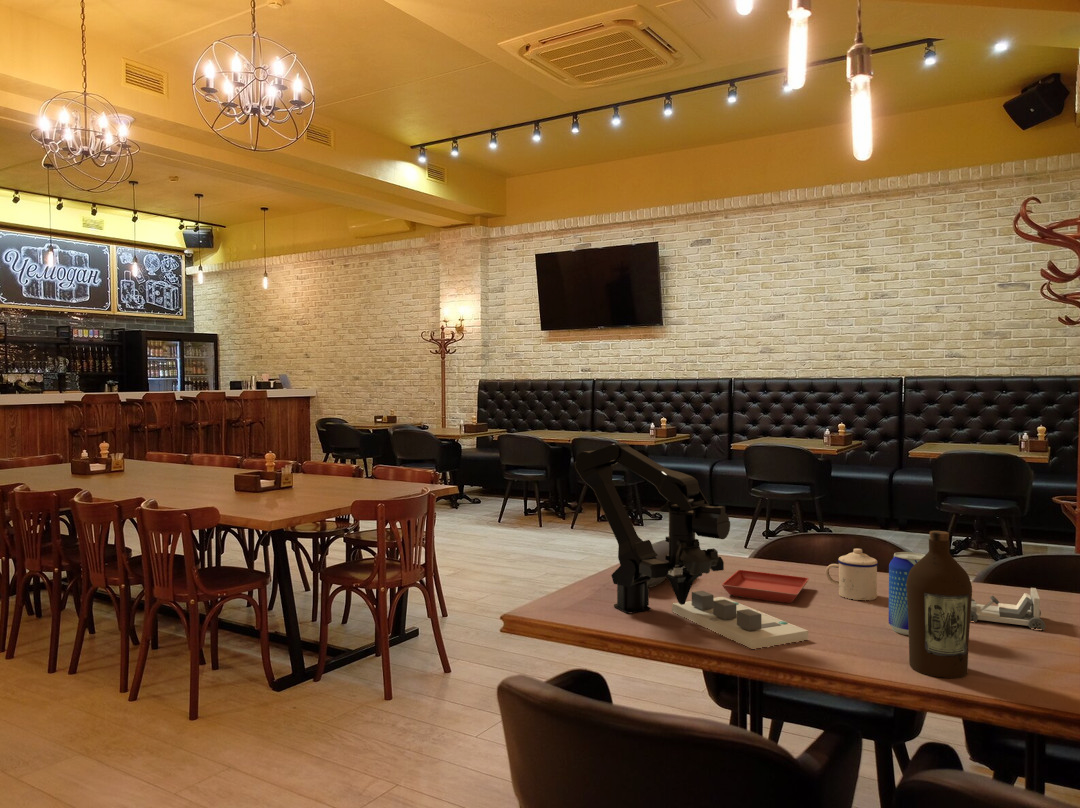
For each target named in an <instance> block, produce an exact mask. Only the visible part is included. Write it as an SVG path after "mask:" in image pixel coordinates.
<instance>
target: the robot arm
mask: <svg viewBox="0 0 1080 808" xmlns="http://www.w3.org/2000/svg"><path fill="white" fill-rule="evenodd" d="M617 464H620V465H622V466H623V467H625V468H626V469H628V470H630V471H631V472H633V473H635V474H636V475H638V476H640V477H641V478H643V479H644V480H645V481H647V482H649V483H650V484H652V485H654V486H655V488H656V489H657V491H658V493H659V494H660V495H661V496H662V497H663V498H664V499H666V500H667V501H666V503H665V504H664V505H663V506H661V508H659V511H660V512H662V513H668V536H665V540H666V542H669V555H666V560H668V561H669V562H662V561H660V560H657V558H656V556H658V555H657V554H656V553H655V551H654V549H653V547H652V544H653V543H652V542H651V540H650V539H646V540H643V539H642V538H641V537H640V536H639V535H638V534H637V531H636V530H635V527H634V526H633V523H632V521H631V519H630V517H629V514H628V512H627V510H626V508H625V506H624V504H623V502H622V499H621V496H620V494H619V493H618V491H617V488H616V486H615V485H614V482H613V466H615V465H617ZM574 469H575V470H576V472H577V473H578V475H579V477H580V478H581V479H582V481H583V482H584V483H585V484H586V485H588V486H589V487H590V488H591V489H592V490H593V492H594V495H595V496H596V498H597V500H598V503H599V504H600V507H601V510H602V511H603V513H604V516H605V518H606V521H607V522H608V525H609V526H610V529H611V531H612V534H613V535H614V538H615V540H616V542H617V546H618V548H617V551H618V552H617V555H618V556H617V559H618V562H619V565H620V566H619V567H618V568H616V570H614V571H613V572H612V573H611V579H612V583H613V584H614V585H617V586H616V589H617V590H616V595H617V596H616V600H617V602H616V603H613V607H614V608H616V609H617V610H620V611H622V612H624V613H625V614H632V613H638V612H639V613H640V612H648V611H651V610H652V608H651V607H650V606H649V604H650V599H649V598H650V597H649V596H650V594H649V593H650V587H647V582H646V581H649V580H651V578H660V577H666V579H667V580H668V583H669V584H670V586H671V588H672V590H673V592H674V595H675V597H676V600H677V603H679V604H681V605H683V604H685V602H686V601H687V599H688V596H689V594H690V591H691V588H692V585H693V584H694V581H696V580H697V578H699V577H702V576H703V574H706V575H707V574H710V571H712V572H718V571H721V572H722V571H725V561H724V560H723V558H722V557H721V556H719V553H718V550H717V549H716V548H708V549H701V547H700V540H699V539H698V538H696V535H697V536H698V537H704V538H710V539H717V540H718V539H719V540H725V539H726V538H728V535H729V533H730V529H731V521H730V518H729V515H728V513H726V507H725V506H713V505H710V503H709V502H708V500H707V498H706V497H705V495H704V493H703V492H702V489H700V486H699V485H700V484H699V481H698V479H696V478H695V477H693V476H692V475H690V474H686V473H685V472H680V471H677V470H672V469H670V468H666V467H665V466H663V465H661V464H659V463H658V462H656V461H654V460H653V459H651V458H649V457H648V456H646V455H645V454H643V453H641V452H639V450H636V449H634V448H633V447H631V446H630V445H629V444H628V443H626V442H617V443H612V444H610V445H608V446H606V447H603V448H600V449H596V450H588V451H587V450H585V451H582V452H580V453H578V454H577V456H576V458H575V462H574ZM675 565H679V566H675Z"/></svg>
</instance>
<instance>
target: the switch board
mask: <svg viewBox="0 0 1080 808" xmlns="http://www.w3.org/2000/svg"><path fill="white" fill-rule="evenodd" d="M724 599H725V600H727V601H730V602H732V603H735V604H736V618H734V619H727V620H724V619H722V618H719V617H717V616H715V615H713V609H705V610H701V609H699V608H697V607H694V606H692V600H689V601H687V600H686V602H685V604H683V605H681V604H679V602H673V603H672V604H671V605H672V608H671V612H672V613H673V612H674V614H675V613H676V614H675V615H677V614H678V615H677V616H680V617H681V618H684V617H685V618H684V619H686V618H687V619H686V620H688V619H689V621H690V620H691V622H692V621H693V622H692V623H694V622H695V623H694V624H696V623H697V624H696V625H699V626H701V627H703V628H705V629H707V628H708V629H707V630H709V629H710V631H711V630H712V631H711V632H713V631H714V633H715V632H716V634H718V633H719V634H718V635H720V634H721V635H720V636H722V635H723V636H722V637H724V636H725V637H724V638H726V637H727V638H726V639H728V638H730V639H731V641H732V640H734V641H736V642H735V643H737V642H738V643H737V644H739V643H741V644H743V645H745V646H747V647H749V648H752V649H755V648H761V649H763V648H762V647H767V648H769V647H768V646H773V645H779V644H784V643H790V644H792V643H791V642H796V643H798V642H797V641H802V642H804V641H803V640H808V641H809V630H808V629H805V628H802V627H800V626H798V625H795V624H792V623H789V622H788V621H785V620H782V619H780V618H777V617H776V616H775V617H774V616H772V615H770V614H767V613H764V612H763V611H759V610H758V609H755V608H752V607H749V606H747V605H745V604H742V603H739V602H737V601H735V600H732V599H730V598H728V597H725V596H717V597H714V601H717V600H724ZM745 609H750V610H752V611H755V612H757V613H760V614H761V629H757V630H751V631H749V630H747V629H744V628H742V627H740V626H737V611H738V610H745ZM730 639H729V640H730ZM734 641H733V642H734ZM741 644H740V645H741ZM743 645H742V646H743ZM784 645H785V644H784ZM745 646H744V647H745ZM779 646H780V645H779ZM747 647H746V648H747ZM773 647H774V646H773ZM749 648H748V649H749ZM755 650H756V649H755Z"/></svg>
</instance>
